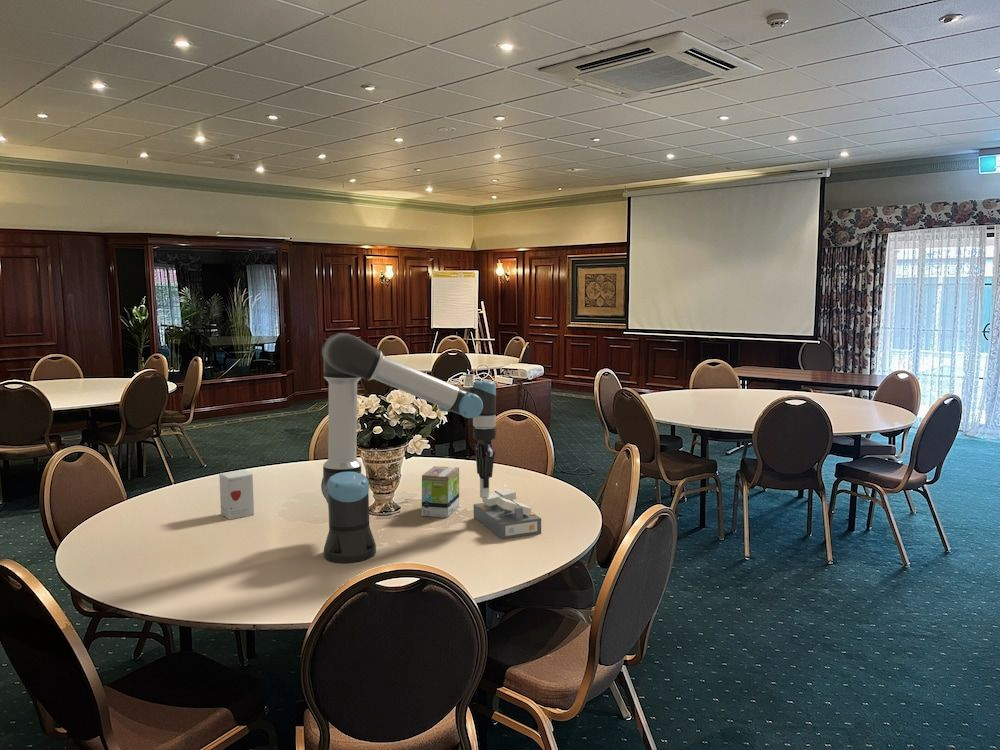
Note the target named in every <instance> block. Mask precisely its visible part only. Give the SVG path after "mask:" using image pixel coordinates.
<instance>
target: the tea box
mask: <svg viewBox="0 0 1000 750" xmlns="http://www.w3.org/2000/svg"><path fill="white" fill-rule="evenodd" d="M459 506H460V467H457V466H456V467H455V466H438V465H437V466H436V465H435V466H433V467H432V468H430V469H428V470H427V471H425V472H424V473H423V474H422V475H421V516H422V517H431V518H448V517H450V515H452V513H453V512H455V510H457V508H458V507H459Z"/></svg>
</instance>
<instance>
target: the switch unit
mask: <svg viewBox="0 0 1000 750" xmlns="http://www.w3.org/2000/svg"><path fill="white" fill-rule="evenodd" d="M505 499H508V498H505ZM512 501H514V500H512ZM473 519H474V520H475V521H477V522H478V523H479V524H481V525H482V526H483V527H484V528H485V529H487V530H488V531H490V532H491V533H492V534H493V535H494V536H496V537H497V538H499V540H507V539H508V540H509V539H515V538H520V537H527V536H533V535H534V536H535V535H540V534H542V518H541V517H540V516H538V515H537V514H536V513H534V512H533V511H531V513H530V515H529V516H528V515H524V514H523V507H519V508H515V512H513V511H510V510H506V509H503V508H501V507H500V506H498V505H497V504H496V505H492V506H488V505H487V504H485V503H484V502H480V503H479V502H478V503H473Z"/></svg>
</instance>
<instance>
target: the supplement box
mask: <svg viewBox="0 0 1000 750" xmlns="http://www.w3.org/2000/svg"><path fill="white" fill-rule="evenodd" d="M218 475H219V494H220V495H219V497H220V498H219V499H220V515H221V516H223V517H224V516H225V517H224V518H226V519H227V518H228V519H227V520H229V519H231V520H236V519H241V518H245V517H246V516H247V517H250V516H251V515H252V516H254V515H255V507H254V506H255V505H254V499H255V498H254V480H253V478H254V477H253V473H252V472H250V471H247V470H245V469H243V470H242V469H239V470H236V471H235V470H233V471H228V472H220V473H218ZM240 517H241V518H240ZM247 517H246V518H247ZM235 518H236V519H235Z"/></svg>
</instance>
